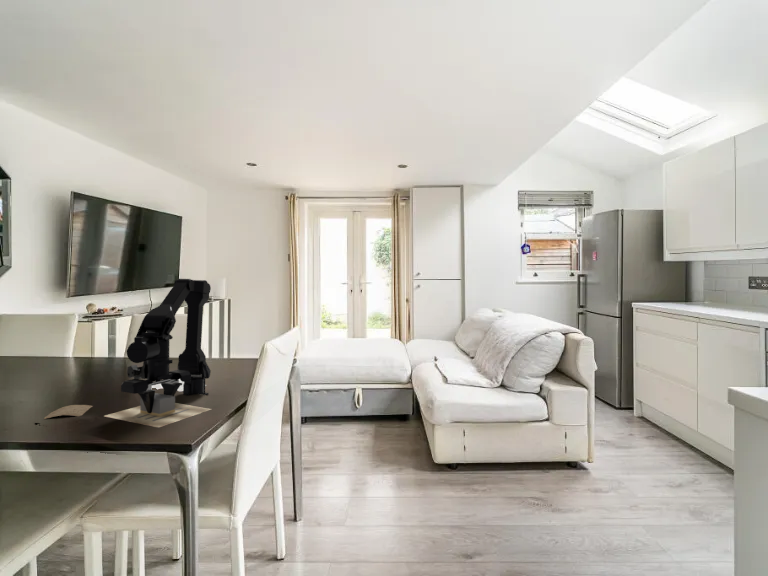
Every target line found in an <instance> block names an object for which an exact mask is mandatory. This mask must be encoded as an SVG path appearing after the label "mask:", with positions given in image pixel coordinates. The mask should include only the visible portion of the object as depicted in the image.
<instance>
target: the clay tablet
mask: <svg viewBox="0 0 768 576" xmlns="http://www.w3.org/2000/svg"><path fill="white" fill-rule="evenodd" d="M93 407H94V405H88V404H71V405H65V406H63V407H60V408H57V409H55V410H54V411H52V412H50V413H48V414H47V415H46V416H44V418H43V419H44V420H45V419H50V418H53V417H58V416H59V417H61V416H75V417H81V416H83V415H84V414H85V413H86V412H88V411H89V410H90V409H91V408H93ZM36 423H37V422H36ZM36 423H35V424H36Z"/></svg>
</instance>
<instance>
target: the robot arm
mask: <svg viewBox="0 0 768 576" xmlns="http://www.w3.org/2000/svg"><path fill="white" fill-rule="evenodd" d="M210 293H211V283H209V282H208V281H207V280H203V279H202V280H201V279H200V280H199V279H191V278H178V279H175V281H174V283H173V286H172V287H171V289H170V290H169V291H168V293H167V294H166V296H165V297H164V299H163V300H162V301H161V303H160V305H158V306H157V307H154V308H152V309H151V310H149V311H148V312H147V313H146V314H145V315H144V317H143V319H142V321H141V323H140V326H139V328H138V331H137V333H136V335H135V337H134V338H133V340H134V341H133V342H131V343H130V344H129V345H128V346H127V349H126V356H127V358H128V359H129V361H130V362H132V363H135V364H134V365H130V366H129V365H128V367H127V373H126V374H127V377H128V378H131V379H128V380H127V379H126V380H123V382H121V385H120V391H121V393H126V394H127V393H128V394H138V395H139V396H140V397H141V399H142V400H143V403H144V405H145V408H146V410H147V412H148V413H151V412H152V408H153V402H154V395H155V393H156V390H152V385H156V384H160V383H161V385H162V387H163V394H165V395H171V396H176V395H175V394H176V393H177V392H178V391H177V390H178V388H179V387H180V386H181V385H182V383H179V379H180V380H181V381H182V382H184V384H183V391H182V392H183V393H182V394H183V396H194V395H195V396H196V395H202V396H208V395H209V392H206V386H205V385H206V379H210V377H211V371H212V370H211V369H210V367H209V365H208V363H207V359H206V354H205V353H204V351H203V349H202V337H203V336H202V335H203V333H202V332H203V318H204V317H203V315H204V306H205V304H206V303H207V302H208V301H209V298H210ZM184 302H185V303H186V305H187V312H186V313H187V314H186V316H187V317H186V328H185V329H186V333H185V349H184V350H183V351H182V352H181V353H179V355H178V363H177V369H175V370H174V369H173V370H170V364H173V359H171V358H170V340H173V335H171V332H172V331H173V330H174V327H175V324H176V322H177V320H176V315H177V313H178V311H179V309H180V307H181V306H182V304H183V303H184ZM139 363H142V365H141V366H138V365H137V364H139ZM132 378H133V379H132Z"/></svg>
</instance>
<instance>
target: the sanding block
mask: <svg viewBox="0 0 768 576" xmlns="http://www.w3.org/2000/svg"><path fill="white" fill-rule="evenodd" d="M139 402H140V403H139V406H140V413H145V414H150V415H155V416H163V415H166V414H169V413H172V412H175V403H176V395H174V396H171V395H165V394H164V393H156V392H155V395H154V402H153V408H152V412H151V413H148V412H147V410H146V408H145V405H144V403H143V400H142V399H141V397H140V401H139Z"/></svg>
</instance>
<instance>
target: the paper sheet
mask: <svg viewBox="0 0 768 576" xmlns="http://www.w3.org/2000/svg"><path fill="white" fill-rule="evenodd" d="M179 383H182V385H181V386H180V387H179V388H178V390H177V391H176V392H183V384H184V382H182V381H181V380H180V379H179ZM206 386H208V385H207V384H205V387H206ZM152 388H156V389H157V390H159V389H163V387H162V385H161V383H160V384H156V385H152ZM163 390H164V389H163Z"/></svg>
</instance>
